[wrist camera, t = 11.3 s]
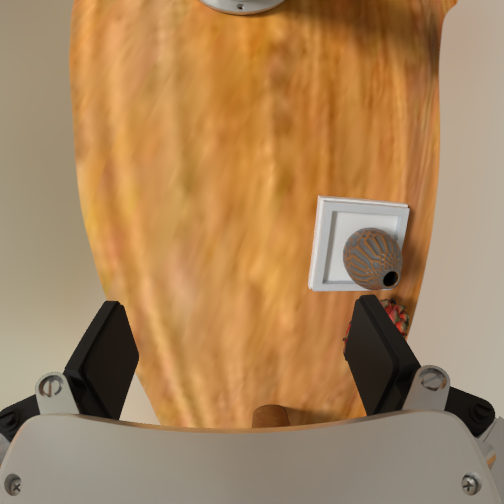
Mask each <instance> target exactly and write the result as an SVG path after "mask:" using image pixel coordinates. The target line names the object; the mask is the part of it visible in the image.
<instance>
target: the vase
mask: <svg viewBox="0 0 504 504" xmlns="http://www.w3.org/2000/svg"><path fill="white" fill-rule="evenodd" d="M343 263H344V267H345V269H346V271H347V273H348V275H349V276H350V278H351V279H352V280H353V281H354V282H355V283H356V284H358V285H359V286H361V287H363V288H365V289H368V290H382V289H392V288H394V287H395V286H397V284H398V283H399V281H400V278H401V270H402V265H403V257H402V253H401V250H400V247H399V245H398V243H397V242H396V241H395V239H394V238H393V237H392V236H391V235H389V234H388V233H387V232H385V231H383V230H381V229H378V228H371V227H368V228H363V229H360V230H358V231H356V232H354V233H353V234H352V235H351V236H350V237H349V238H348V240H347V241H346V243H345V246H344V249H343Z"/></svg>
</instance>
